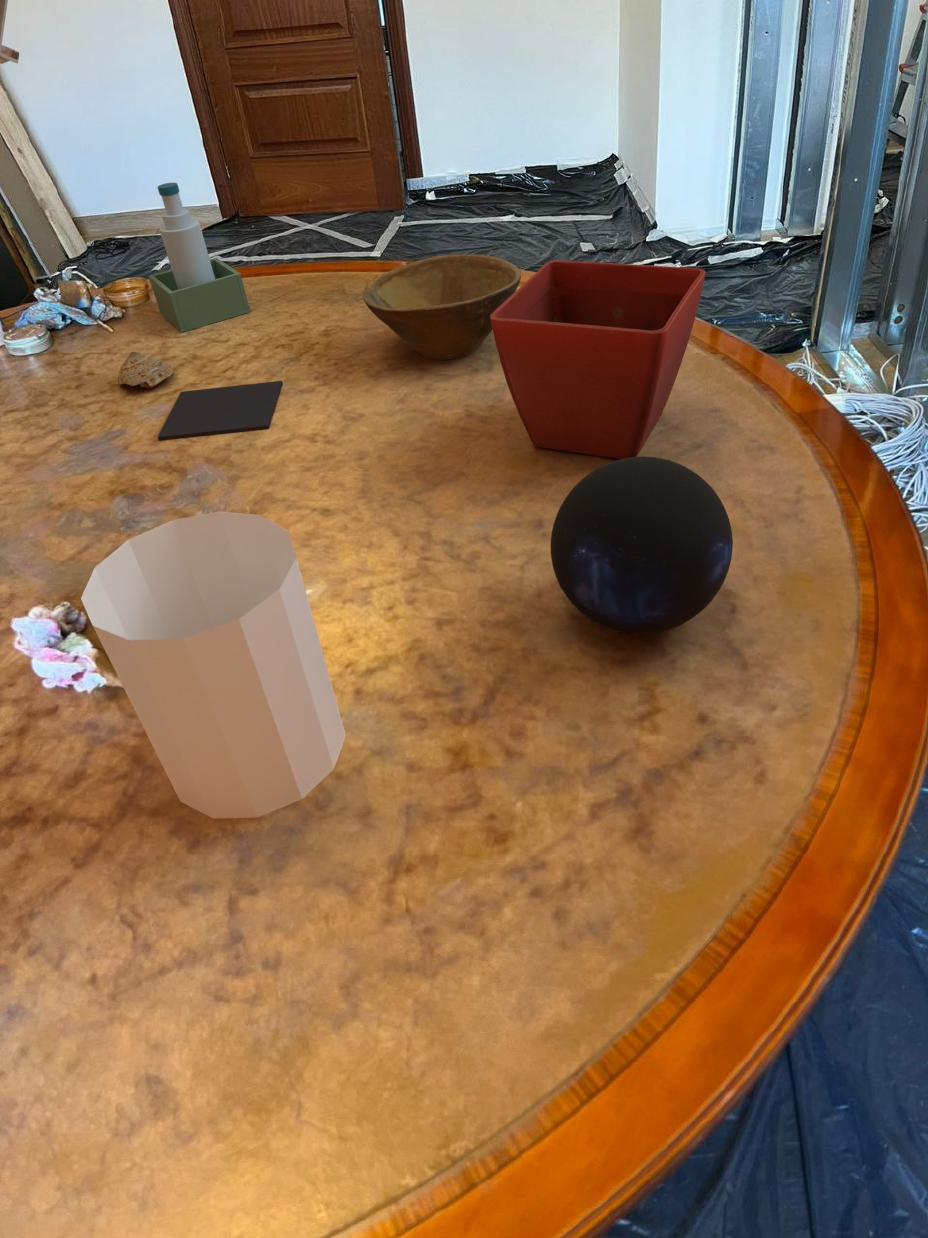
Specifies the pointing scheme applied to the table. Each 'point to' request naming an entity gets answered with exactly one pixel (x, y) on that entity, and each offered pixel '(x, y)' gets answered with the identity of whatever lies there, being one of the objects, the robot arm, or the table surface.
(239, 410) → the mat
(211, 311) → the green open box
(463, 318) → the bowl
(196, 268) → the bottle
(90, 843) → the table surface
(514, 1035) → the table surface
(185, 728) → the container
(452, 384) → the table surface
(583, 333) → the flower pot
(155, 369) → the seashell
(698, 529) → the decorative sphere
